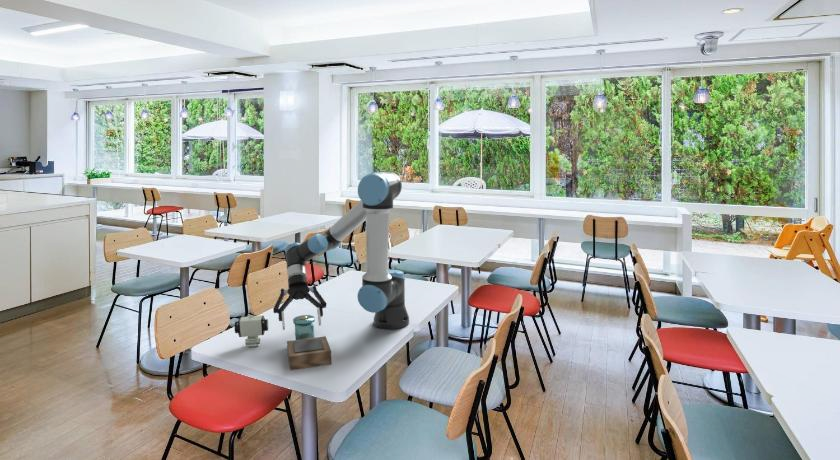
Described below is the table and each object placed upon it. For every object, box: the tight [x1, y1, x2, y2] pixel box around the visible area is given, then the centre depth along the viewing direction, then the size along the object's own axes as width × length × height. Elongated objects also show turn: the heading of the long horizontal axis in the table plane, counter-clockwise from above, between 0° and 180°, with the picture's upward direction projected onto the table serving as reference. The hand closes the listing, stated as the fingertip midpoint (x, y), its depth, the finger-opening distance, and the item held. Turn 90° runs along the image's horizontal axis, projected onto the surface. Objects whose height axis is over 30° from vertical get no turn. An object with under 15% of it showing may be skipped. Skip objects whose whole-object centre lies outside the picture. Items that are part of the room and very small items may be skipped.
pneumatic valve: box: [233, 314, 269, 348], centre depth 189 cm, size 6×12×12 cm, turn 101°
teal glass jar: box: [292, 314, 316, 340], centre depth 190 cm, size 8×8×11 cm
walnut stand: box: [286, 335, 333, 371], centre depth 176 cm, size 14×14×5 cm
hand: (302, 326), depth 190 cm, fingers open, 13 cm apart
